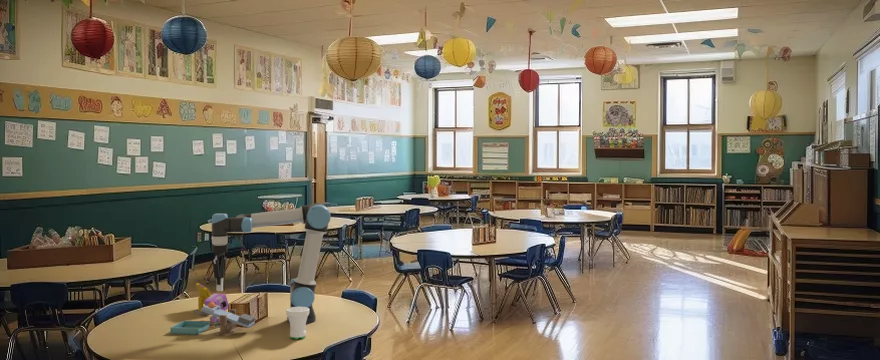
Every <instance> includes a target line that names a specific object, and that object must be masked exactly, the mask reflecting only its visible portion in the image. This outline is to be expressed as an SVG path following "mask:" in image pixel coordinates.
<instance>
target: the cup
mask: <svg viewBox="0 0 880 360" xmlns="http://www.w3.org/2000/svg"><path fill="white" fill-rule="evenodd" d="M285 314H286V317H287V316H288V319H289V322H290V323H289V322H288V323H289V327H290V328H289V329H290V330H289V331H290V332H289V336H290V339H291V340H293V339H294V340H299V339H301V340H304V339H305V337H306V336H307V331H306V325H307V323H306V321H307V317H308V315H309V308H307V307H291V308H290V307H288V308H286V310H285ZM303 338H304V339H303Z"/></svg>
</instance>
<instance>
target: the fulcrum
mask: <svg viewBox="0 0 880 360" xmlns="http://www.w3.org/2000/svg"><path fill="white" fill-rule="evenodd" d="M229 313H234V314H235V315H237V309H235V308H230V309H229ZM240 330H241V326H237V324H236V323H233V322H230V321H228V320H227V315H220V324H219V331H218V332H216V334H215V336H217V337H219V336H222V337H223V336H224V337H230V336H231V335H233V334H235V333H236V332H238V331H240Z"/></svg>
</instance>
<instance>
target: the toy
mask: <svg viewBox="0 0 880 360" xmlns="http://www.w3.org/2000/svg"><path fill="white" fill-rule="evenodd" d="M210 302H214V303H215V305H217V306H220V309H221V310H224V311H227V310H228V309H229V308H228V305H229V301H228V298H227V294H226V293H212V294H210V297H209V298H207V299H206V300H205V301H204V303H205V304H204V306H207V305H208V304H209V303H210ZM229 306H230V305H229ZM209 321H210V323H213V322H215V323H216V322H217V324H219V323H220V318H219V317H217V316H214V315H211V316H210V317H209Z"/></svg>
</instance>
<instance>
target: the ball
mask: <svg viewBox="0 0 880 360" xmlns="http://www.w3.org/2000/svg"><path fill="white" fill-rule="evenodd" d="M208 307H209V308H211V309H213V308H215V303H214V302H210V303H209V304H208Z"/></svg>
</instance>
